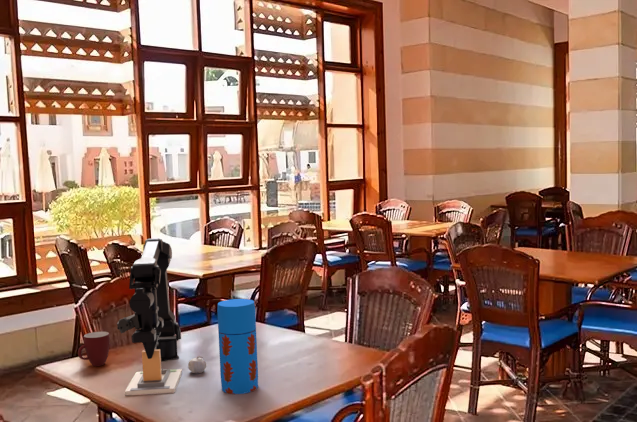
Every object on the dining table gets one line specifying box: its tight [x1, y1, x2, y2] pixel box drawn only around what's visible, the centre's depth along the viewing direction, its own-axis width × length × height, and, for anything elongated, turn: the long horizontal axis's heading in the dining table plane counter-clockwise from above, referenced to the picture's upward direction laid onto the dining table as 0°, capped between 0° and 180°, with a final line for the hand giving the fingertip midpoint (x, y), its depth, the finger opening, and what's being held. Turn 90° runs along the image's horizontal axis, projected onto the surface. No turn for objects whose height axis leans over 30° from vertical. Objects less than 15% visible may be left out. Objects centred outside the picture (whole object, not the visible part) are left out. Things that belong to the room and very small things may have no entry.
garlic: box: [187, 355, 207, 374], centre depth 216 cm, size 6×5×5 cm
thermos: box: [216, 298, 259, 395], centre depth 199 cm, size 11×11×25 cm
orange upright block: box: [141, 349, 162, 383], centre depth 202 cm, size 4×5×10 cm
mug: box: [77, 331, 111, 367], centre depth 227 cm, size 10×8×10 cm
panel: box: [124, 368, 183, 396], centre depth 206 cm, size 18×14×2 cm
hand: (150, 358), depth 200 cm, fingers closed
